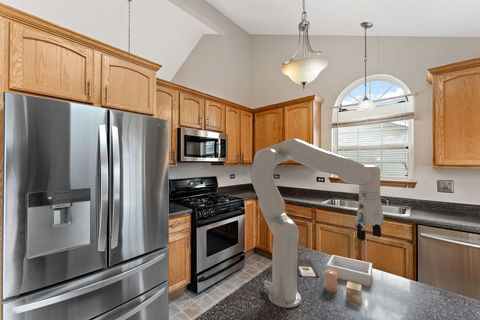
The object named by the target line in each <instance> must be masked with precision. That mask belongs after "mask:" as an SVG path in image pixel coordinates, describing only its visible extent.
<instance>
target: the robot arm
mask: <svg viewBox="0 0 480 320" xmlns="http://www.w3.org/2000/svg"><path fill="white" fill-rule="evenodd" d="M289 160H291V161H293V162H296V163H298V164H301V165H303V166H305V167H306V168H307V167H308V168H310V169H313V170H315V171H318V172H321V173H325V174H331V175H333V176H337V177H338V179H339V180H340V181H341V182H343V183H346V184H353V185H358V203H357V208H356V209H357V210H356V212H357V213H356V216H355V217H354V218H353V222H354V223H353V224H354V227H355V228H356V238H357V239H358V240H360V241H363V242H365V241H366V227H367V226H369V227H371V226H372V236H374V237H377V238H382V227H383V225H382V224H383V222H384V218H385V215H383V214H384V213H383V205H382V204H383V203H382V200H381V169H380V167H379V165H378V166H377V165H369V164H368V165H364V164H362V163H360V162H358V161H355V160H353V159H351V158H348V157H345V156H341V155H338V154H336V153H333V152H330V151H326V150H325V149H323V148H319V147H317V146H314V145H313V144H311V143H310V144H309V143H308V142H305V141H303V140H300V139H298V138H289V139H286V140H284V141H282V142H279V143H276V144H273V145H270V146H268V147H264V148H261V149H260V150H257V152H255V154H254V157H253V162H252V165H251V168H250V169H251V170H250V180H251V183H252V186H253V189H254V191H255V193H256V196H257V199H258V207H259V209H260V211H261V214H262V216H263V217H264V219H265V222H266V224H267V226H268V229H269V230H270V232H271V234H272V236H273V239H272V240H273V242H272V254H271V255H272V256H271V257H272V261H271V262H272V264H271V266H272V271H271V272H272V281H270V280H266V279H265V280H264V281H263V285H264V286H263V288H264V289H267V290H269V291H268V293H267V296H268V299H269V301H270V302H271V303H272V304H273V305H275V306H276V307H281V308H285V309H286V308H288V309H289V308H290V309H291V308H295V307H298V306H299V305H300V304H301V302H302V296H301V293H299V292H298V272H297V259H298V245H299V239H300V238H299V236H300V235H299V234H300V233H299V228H298V226H297V224H296V223H295V221H293V220H292V218H290V217H289V216H288V215H287V212H286V203H285V200H284V199H283V197H282V195H281V193H280V191H279V188H278V186H277V183H276V182H275V179H274V170H275V167H277V165H279V164H282V163H284V162H287V161H289Z"/></svg>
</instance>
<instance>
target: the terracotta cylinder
mask: <svg viewBox="0 0 480 320" xmlns="http://www.w3.org/2000/svg"><path fill="white" fill-rule="evenodd" d="M324 290H325V291H327V292H329V293H337V292H338V278H337V272H335V271H333V270H327V269H325V270H324Z"/></svg>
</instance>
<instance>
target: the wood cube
mask: <svg viewBox="0 0 480 320" xmlns="http://www.w3.org/2000/svg"><path fill="white" fill-rule="evenodd" d="M362 286H363V285H361V284H357V283H353V282H350V281H346V286H345V300H346V301H349V302H353V303H355V302H356V304H359V305H361V302H362V294H363V293H362V289H363V287H362Z"/></svg>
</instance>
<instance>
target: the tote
mask: <svg viewBox="0 0 480 320" xmlns="http://www.w3.org/2000/svg"><path fill="white" fill-rule="evenodd" d="M326 270H333V271H335V272H337V280H343V281H346V282H352V283H356V284H360V285H362V286H365V287H368V286H369V287H368V288H371V286H372V285H371V284H372V277H373V263H372V262H367V261H363V260H358V259H355V258H349V257H344V256H340V255H336V254H332V255H331V257H330V258H329V260H328V262H327V264H326Z"/></svg>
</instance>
